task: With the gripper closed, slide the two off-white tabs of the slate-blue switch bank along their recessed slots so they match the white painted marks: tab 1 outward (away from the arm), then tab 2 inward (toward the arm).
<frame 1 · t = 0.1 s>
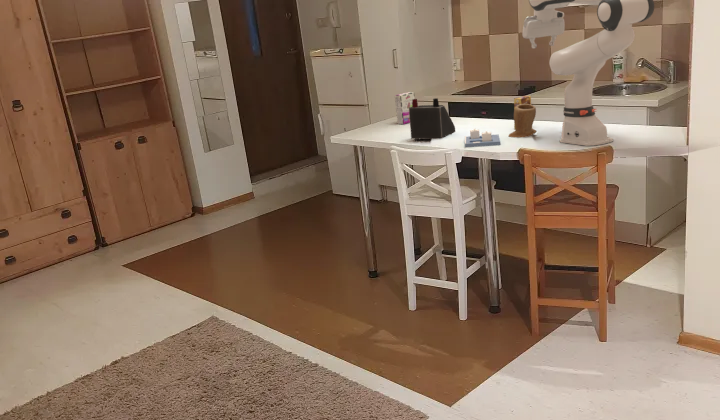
hand: (542, 46, 294), 39 cm above the table, tool pointing down, fingers open, 8 cm apart
switch bank: (482, 145, 291), on the table
voltmeter: (433, 138, 320), on the table
candy box: (523, 128, 320), on the table
brown hollow flared piece: (524, 137, 300), on the table
tab 2: (474, 134, 295), point 4 cm above the table, slide at 5.0 cm
candy bar box: (407, 123, 370), on the table
tab 1: (486, 137, 286), point 4 cm above the table, slide at 0.0 cm
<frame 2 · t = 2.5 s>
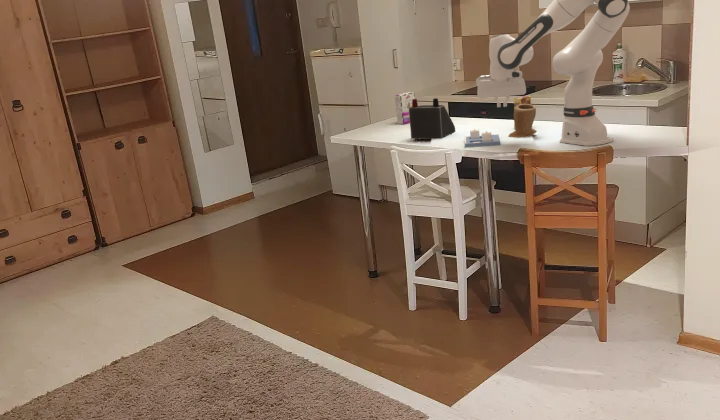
hand: (502, 106, 281), 17 cm above the table, tool pointing down, fingers closed
nothing on the table moved.
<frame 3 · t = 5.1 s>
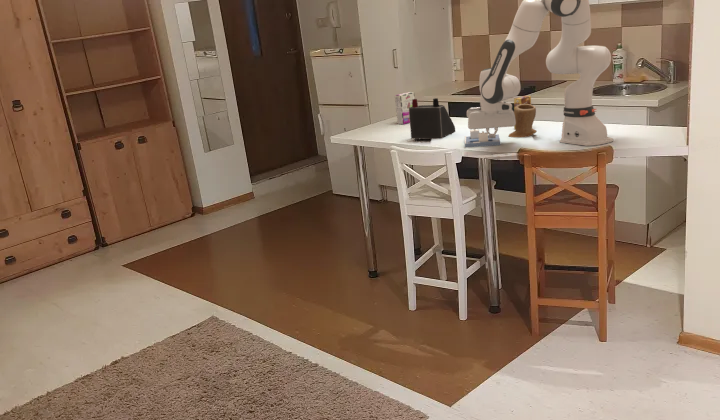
hand: (492, 138, 286), 4 cm above the table, tool pointing down, fingers closed
tab 1: (483, 137, 286), point 4 cm above the table, slide at 1.5 cm, touching gripper
everything else where it was.
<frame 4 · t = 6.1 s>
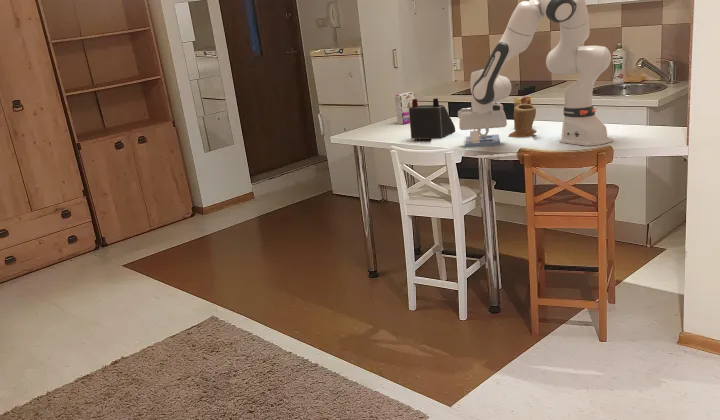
hand: (483, 138, 286), 4 cm above the table, tool pointing down, fingers closed
tab 1: (474, 138, 287), point 4 cm above the table, slide at 5.1 cm, touching gripper
everything else where it was.
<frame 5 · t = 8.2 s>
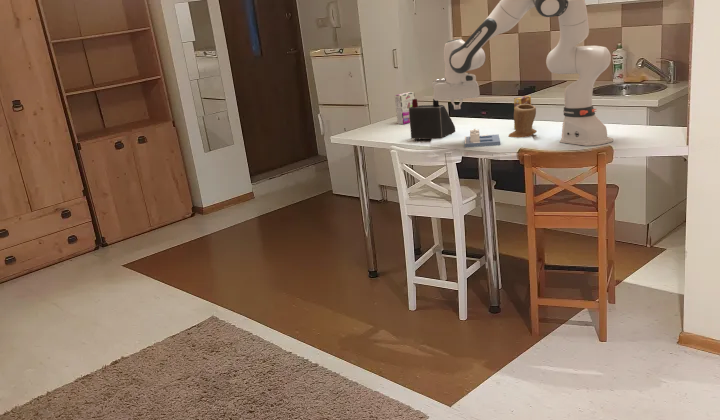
hand: (457, 109, 292), 16 cm above the table, tool pointing down, fingers closed
tab 1: (474, 138, 287), point 4 cm above the table, slide at 5.1 cm
everything else where it was.
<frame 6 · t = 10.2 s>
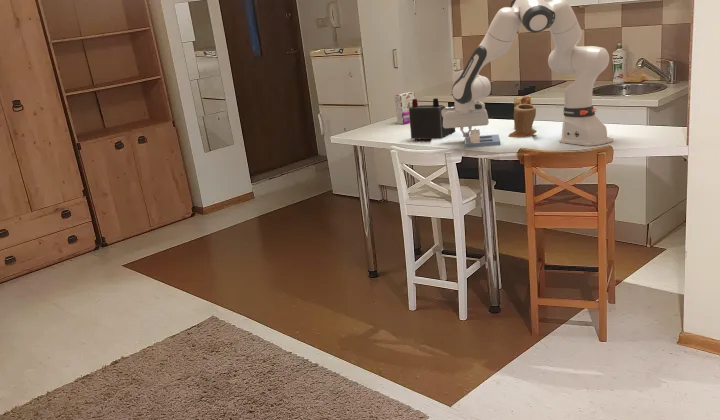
hand: (466, 136, 296), 4 cm above the table, tool pointing down, fingers closed
tab 2: (475, 134, 295), point 4 cm above the table, slide at 4.8 cm, touching gripper
everything else where it was.
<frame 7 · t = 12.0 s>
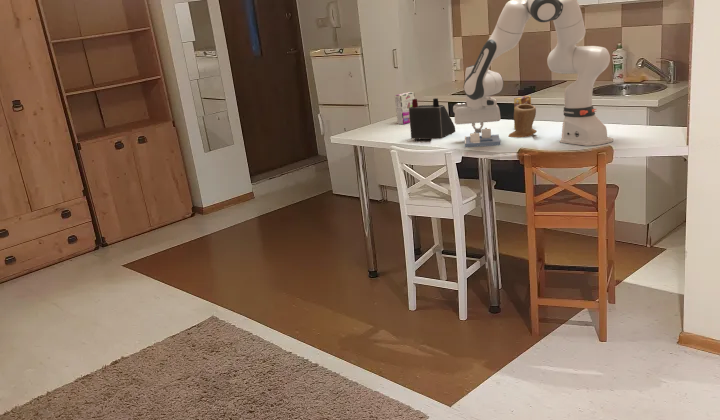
hand: (478, 132, 295), 5 cm above the table, tool pointing down, fingers closed
tab 2: (486, 134, 294), point 4 cm above the table, slide at 0.0 cm, touching gripper
everything else where it was.
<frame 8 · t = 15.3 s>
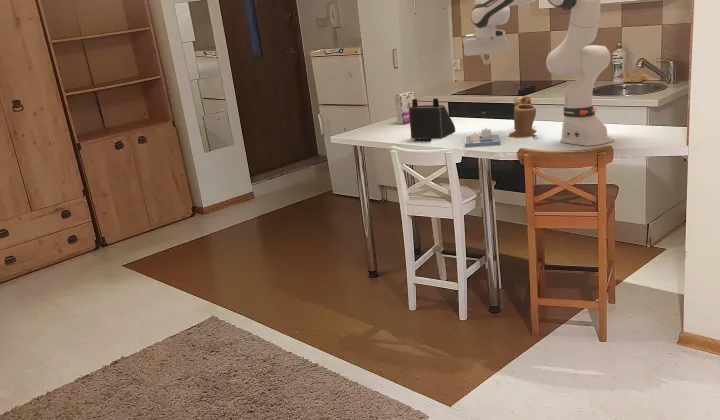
hand: (486, 64, 302), 33 cm above the table, tool pointing down, fingers closed
tab 2: (486, 134, 294), point 4 cm above the table, slide at -0.1 cm
everything else where it was.
at the end: tab 1 slide at 5.1 cm; tab 2 slide at -0.1 cm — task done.
